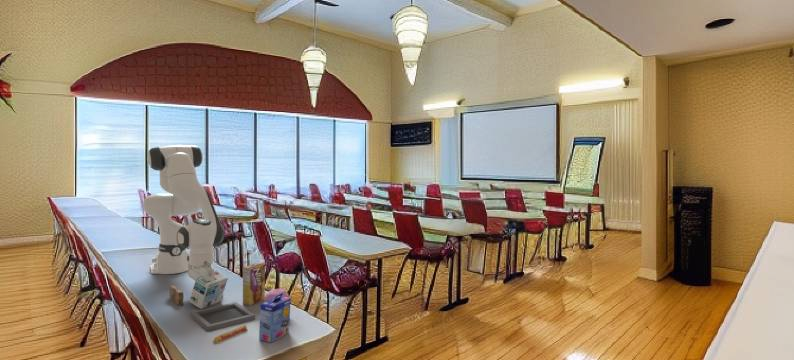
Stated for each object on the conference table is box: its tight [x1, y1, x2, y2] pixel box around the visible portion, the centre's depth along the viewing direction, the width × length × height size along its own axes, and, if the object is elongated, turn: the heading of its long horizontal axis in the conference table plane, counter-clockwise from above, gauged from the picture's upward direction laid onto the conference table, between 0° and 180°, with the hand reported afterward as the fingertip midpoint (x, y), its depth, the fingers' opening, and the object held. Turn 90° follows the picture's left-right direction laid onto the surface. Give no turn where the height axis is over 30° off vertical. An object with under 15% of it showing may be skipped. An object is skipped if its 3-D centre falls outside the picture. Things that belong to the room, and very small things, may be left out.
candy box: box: [242, 262, 266, 306], centre depth 168 cm, size 9×4×15 cm, turn 158°
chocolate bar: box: [212, 324, 248, 344], centre depth 136 cm, size 3×12×2 cm, turn 150°
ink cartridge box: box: [258, 293, 292, 344], centre depth 137 cm, size 10×6×14 cm, turn 159°
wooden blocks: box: [169, 284, 224, 306], centre depth 171 cm, size 12×17×5 cm
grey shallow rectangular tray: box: [190, 301, 257, 332], centre depth 151 cm, size 17×17×2 cm
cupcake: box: [263, 288, 290, 302], centre depth 155 cm, size 9×9×10 cm
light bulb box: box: [188, 270, 229, 310], centre depth 163 cm, size 11×7×11 cm, turn 161°
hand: (201, 293), depth 166 cm, fingers closed
